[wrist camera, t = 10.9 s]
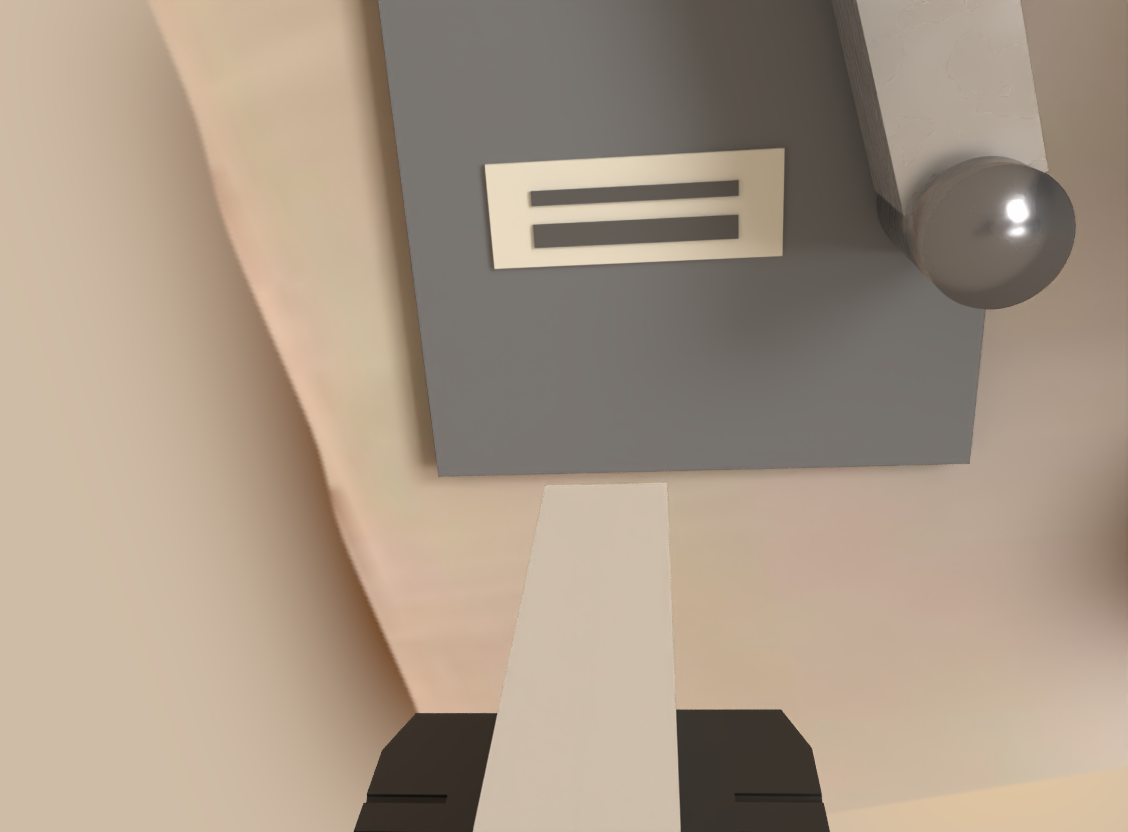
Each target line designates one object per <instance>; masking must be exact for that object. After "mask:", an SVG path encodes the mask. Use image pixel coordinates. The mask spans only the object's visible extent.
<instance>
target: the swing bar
mask: <svg viewBox="0 0 1128 832" xmlns="http://www.w3.org/2000/svg"><path fill="white" fill-rule="evenodd" d="M831 1H832V5H833V10H834V14H835V19H836V23H837V27H838V32H839V36H840V40H841V45H842V49H843V54H844V58H845V62H846V67H847V71H848V75H849V80H850V84H851V89H852V93H853V97H854V102H855V106H856V110H857V115H858V119H859V124H860V128H861V132H862V137H863V141H864V145H865V150H866V154H867V159H868V163H869V167H870V172H871V176H872V181H873V185H874V189H875V191H876V192H877V193H878V196H877V212H878V217H879V221H880V224H881V226H882V228H883V230H884V232H885V233H886V235H887V236H888V238H889V239H890V240H891V241H892V242H893V243H894V244H895V245H896V246H897V247H898V248H899V249H900V250H901V251H902V252H903V253H904V254H905V255H906V256H907V257H908V258H909V259H910V260H911V261H912V262H913V264H914V265H915V266H916V267H917V268H918V269H919V270H920V271H921V272H922V273H923V274H924V275H925V276H926V277H927V278H928V279H929V280H930V281H931V282H932V283H933V284H934V285H935V286H936V287H937V288H938V289H939V290H940V291H941V292H942V293H943V294H945V295H946V296H947V297H948V298H950V299H952V300H953V301H955V302H957V303H959V304H962V305H964V306H967V307H971V308H977V309H1000V308H1005V307H1010V306H1013V305H1016V304H1019V303H1021V302H1023V301H1026V300H1028V299H1030V298H1031V297H1033V296H1035V295H1036V294H1038V293H1039V292H1040V291H1042V290H1043V289H1044V288H1046V287H1047V286H1048V285H1049V284H1050V283H1051V282H1052V281H1053V280H1054V279H1055V277H1056V276H1057V275H1058V274H1059V273H1060V271H1061V270H1062V268H1063V266H1064V265H1065V263H1066V261H1067V259H1068V257H1069V255H1070V253H1071V250H1072V247H1073V243H1074V238H1075V228H1076V224H1075V215H1074V210H1073V206H1072V204H1071V201H1070V199H1069V197H1068V195H1067V194H1066V192H1065V190H1064V189H1063V188H1062V187H1061V186H1060V184H1059V183H1058V182H1056V181H1055V180H1054V179H1053V178H1052V177H1050V176H1049V175H1047V174H1046V173H1044V172H1047V171H1048V166H1047V160H1046V154H1045V147H1044V141H1043V135H1042V129H1041V123H1040V117H1039V111H1038V105H1037V99H1036V93H1035V86H1034V80H1033V74H1032V68H1031V62H1030V56H1029V50H1028V44H1027V38H1026V32H1025V25H1024V19H1023V13H1022V7H1021V1H1020V0H831Z"/></svg>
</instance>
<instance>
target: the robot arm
mask: <svg viewBox="0 0 1128 832" xmlns="http://www.w3.org/2000/svg"><path fill="white" fill-rule="evenodd" d="M354 832H830V830H829V826H828V821H827V816H826V812H825V807H824V803H822V793H821V789H820V784H819V779H818V775H817V770H816V765H815V761H814V756H813V752H812V748H811V746H810V745H809V744H808V743H807V741H806V740H805V739H804V738H803V736H802V735H801V734H800V733H799V731H798V730H797V729H796V728H795V726H794V725H793V724H792V723H791V721H790V720H789V719H788V718H787V716H786V715H785V714H784V713H783V711H782V710H676V697H675V672H674V646H673V620H672V594H671V568H670V542H669V516H668V490H667V483H624V484H581V485H545V489H544V494H543V499H542V503H541V508H540V513H539V518H538V522H537V527H536V532H535V537H534V542H533V546H532V551H531V556H530V561H529V565H528V570H527V575H526V580H525V585H524V589H523V594H522V599H521V604H520V608H519V613H518V618H517V623H516V628H515V632H514V637H513V642H512V647H511V651H510V656H509V661H508V666H507V671H506V675H505V680H504V685H503V690H502V694H501V699H500V704H499V709H498V713H416V714H415V715H414V716H413V717H412V718H411V720H409V721H408V723H407V724H406V725H405V726H404V727H403V728H402V729H401V730H400V731H399V732H398V734H397V735H396V736H395V737H394V738H393V739H392V740H391V741H390V742H389V744H388V745H387V746H386V747H385V748H384V749H383V750H382V752H381V755H380V758H379V761H378V764H377V767H376V769H375V772H374V775H373V778H372V781H371V784H370V787H369V789H368V792H367V802H366V803H364V804H363V806H362V809H361V812H360V815H359V818H358V821H357V824H356V827H355V829H354Z"/></svg>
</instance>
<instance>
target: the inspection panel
mask: <svg viewBox="0 0 1128 832" xmlns="http://www.w3.org/2000/svg"><path fill="white" fill-rule="evenodd" d="M378 5H379V13H380V20H381V28H382V36H383V44H384V52H385V60H386V67H387V75H388V83H389V91H390V99H391V107H392V115H393V122H394V130H395V138H396V146H397V154H398V162H399V170H400V177H401V185H402V193H403V201H404V209H405V217H406V224H407V232H408V240H409V248H410V256H411V264H412V272H413V279H414V287H415V295H416V303H417V311H418V319H419V327H420V334H421V342H422V350H423V358H424V366H425V374H426V382H427V389H428V397H429V405H430V413H431V421H432V429H433V436H434V444H435V452H436V460H437V468H438V476H439V477H443V476H484V475H525V474H567V473H608V472H649V471H690V470H732V469H773V468H814V467H855V466H897V465H938V464H970V455H971V445H972V435H973V425H974V416H975V406H976V396H977V387H978V377H979V367H980V357H981V348H982V338H983V328H984V319H985V309H977V308H971V307H967V306H964V305H962V304H959V303H957V302H955V301H953V300H952V299H950V298H948V297H947V296H946V295H945V294H943V293H942V292H941V291H940V290H939V289H938V288H937V287H936V286H935V285H934V284H933V283H932V282H931V281H930V280H929V279H928V278H927V277H926V276H925V275H924V274H923V273H922V272H921V271H920V270H919V269H918V268H917V267H916V266H915V265H914V264H913V262H912V261H911V260H910V259H909V258H908V257H907V256H906V255H905V254H904V253H903V252H902V251H901V250H900V249H899V248H898V247H897V246H896V245H895V244H894V243H893V242H892V241H891V240H890V239H889V238H888V236H887V235H886V233H885V232H884V230H883V228H882V226H881V224H880V221H879V217H878V212H877V196H878V193H877V192H876V191H875V189H874V185H873V181H872V176H871V172H870V167H869V163H868V159H867V154H866V150H865V145H864V141H863V137H862V132H861V128H860V124H859V119H858V115H857V110H856V106H855V102H854V97H853V93H852V89H851V84H850V80H849V75H848V71H847V67H846V62H845V58H844V54H843V49H842V45H841V40H840V36H839V32H838V27H837V23H836V19H835V14H834V10H833V5H832V1H831V0H378Z"/></svg>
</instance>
